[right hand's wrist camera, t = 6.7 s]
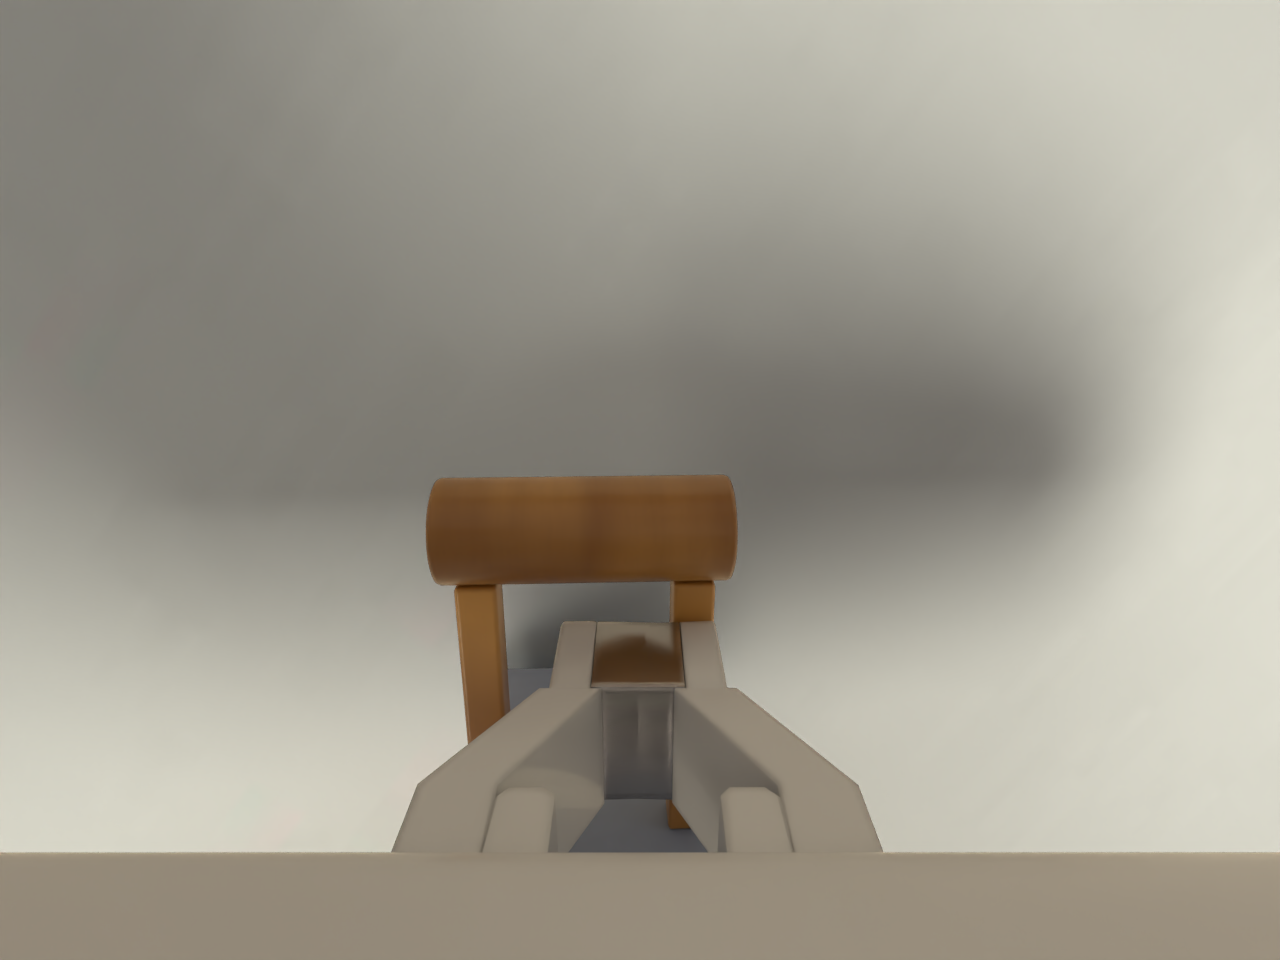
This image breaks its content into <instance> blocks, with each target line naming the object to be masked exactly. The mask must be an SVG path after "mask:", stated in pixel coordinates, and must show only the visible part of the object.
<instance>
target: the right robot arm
mask: <svg viewBox="0 0 1280 960" xmlns="http://www.w3.org/2000/svg"><path fill="white" fill-rule="evenodd" d="M613 799H663V800H672V803H673V804H674V806H675V807H676V809H677V810H678V811H679V813H680V814H681V815H682V817H683V818H684V820H685V821H686V822H687V824H688V825H689V827H690V828H691V829H692V831H693V832H694V833H695V835H696V836H697V838H698V839H699V840H700V842H701V843H702V845H703V846H704V847H705V849H706V850H707V851H708V852H695V853H568V852H569V851H570V849H571V848H572V847H573V845H574V844H575V843H576V841H577V840H578V838H579V837H580V836H581V834H582V833H583V832H584V830H585V829H586V828H587V826H588V825H589V823H590V822H591V821H592V819H593V818H594V817H595V815H596V814H597V813H598V811H599V810H600V808H601V807H602V806H603V804H604V800H613ZM0 960H1280V852H883V850H882V847H881V844H880V842H879V839H878V836H877V834H876V831H875V828H874V826H873V823H872V820H871V818H870V815H869V812H868V810H867V807H866V804H865V802H864V799H863V796H862V794H861V791H860V788H859V786H858V785H857V784H856V783H855V782H854V781H852V780H851V779H850V778H849V777H847V776H846V775H845V774H844V773H842V772H841V771H840V770H839V769H837V768H836V767H835V766H834V765H832V764H831V763H830V762H829V761H827V760H826V759H825V758H824V757H822V756H821V755H820V754H819V753H817V752H816V751H815V750H814V749H812V748H811V747H810V746H809V745H807V744H806V743H805V742H804V741H802V740H801V739H800V738H799V737H797V736H796V735H795V734H794V733H792V732H791V731H790V730H789V729H787V728H786V727H785V726H784V725H782V724H781V723H780V722H779V721H777V720H776V719H775V718H774V717H772V716H771V715H770V714H769V713H767V712H766V711H765V710H764V709H762V708H761V707H760V706H759V705H757V704H756V703H755V702H754V701H752V700H751V699H750V698H749V697H747V696H746V695H745V694H744V693H742V692H741V691H740V690H739V689H737V688H727V685H726V680H725V674H724V669H723V663H722V658H721V652H720V647H719V642H718V636H717V631H716V625H715V623H714V622H713V621H692V622H680V623H679V622H664V623H652V622H602V621H598V623H597V622H596V621H564V622H563V624H562V625H561V628H560V633H559V638H558V644H557V649H556V654H555V659H554V665H553V670H552V675H551V681H550V686H549V688H539V689H538V690H536V691H535V692H534V693H533V694H531V695H530V696H529V697H527V698H526V699H525V700H524V701H522V702H521V703H520V704H519V705H517V706H516V707H515V708H514V709H512V710H511V711H510V712H508V713H507V714H506V715H505V716H503V717H502V718H501V719H500V720H498V721H497V722H496V723H495V724H493V725H492V726H491V727H490V728H488V729H487V730H486V731H484V732H483V733H482V734H481V735H479V736H478V737H477V738H476V739H474V740H473V741H472V742H471V743H469V744H468V745H467V746H465V747H464V748H463V749H462V750H460V751H459V752H458V753H457V754H455V755H454V756H453V757H452V758H450V759H449V760H448V761H446V762H445V763H444V764H443V765H441V766H440V767H439V768H438V769H436V770H435V771H434V772H433V773H431V774H430V775H429V776H427V777H426V778H425V779H424V780H422V781H421V782H420V783H419V784H418V785H417V787H416V790H415V792H414V795H413V797H412V800H411V803H410V805H409V808H408V810H407V813H406V815H405V818H404V821H403V823H402V826H401V828H400V831H399V833H398V836H397V839H396V841H395V844H394V846H393V849H392V851H391V852H169V853H87V852H0Z"/></svg>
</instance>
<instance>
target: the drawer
mask: <svg viewBox="0 0 1280 960" xmlns="http://www.w3.org/2000/svg"><path fill="white" fill-rule="evenodd" d="M737 542H738V526H737V509H736V501H735V494H734V490H733V486H732V483H731V481H730V479H729V477H728V476H725V475H660V476H573V477H486V478H441V479H438V480H437V481H436V482H435V483H434V485H433V487H432V490H431V493H430V497H429V501H428V507H427V516H426V550H427V558H428V564H429V568H430V572H431V575H432V577H433V579H434V581H435V582H436V583H437V584H439V585H442V586H444V585H456V588H455V590H454V596H455V607H456V618H457V629H458V640H459V651H460V661H461V672H462V683H463V694H464V705H465V716H466V727H467V738H468V744H469V743H471V742H472V741H473V740H474V739H476V738H477V737H478V736H479V735H481V734H482V733H483V732H484V731H486V730H487V729H488V728H490V727H491V726H492V725H493V724H495V723H496V722H497V721H498V720H500V719H501V718H502V717H503V716H505V715H506V714H507V713H508V712H510V711H511V710H512V709H514V708H515V707H516V706H517V705H519V704H520V703H521V702H522V701H524V700H525V699H526V698H527V697H529V696H530V695H531V694H533V693H534V692H535V691H536V690H538V689H539V688H549V686H550V681H551V675H552V670H553V668H530V669H507V653H506V638H505V623H504V608H503V593H502V584H552V583H606V582H660V581H670V620H669V622H679V623H680V622H692V621H713V622H714V603H715V584H714V580H728V579H730V578H731V577H732V574H733V572H734V568H735V564H736V557H737ZM695 852H708V851H707V850H706V849H705V847H704V846H703V845H702V843H701V842H700V840H699V839H698V838H697V836H696V835H695V833H694V832H693V831H692V829H691V828H690V827H689V825H688V824H687V822H686V821H685V820H684V818H683V817H682V815H681V814H680V813H679V811H678V810H677V809H676V807H675V806H674V804H673V803H672V800H663V799H613V800H604V804H603V806H602V807H601V808H600V810H599V811H598V813H597V814H596V815H595V817H594V818H593V819H592V821H591V822H590V823H589V825H588V826H587V828H586V829H585V830H584V832H583V833H582V834H581V836H580V837H579V838H578V840H577V841H576V843H575V844H574V845H573V847H572V848H571V849H570V851H569V852H568V853H695Z"/></svg>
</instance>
